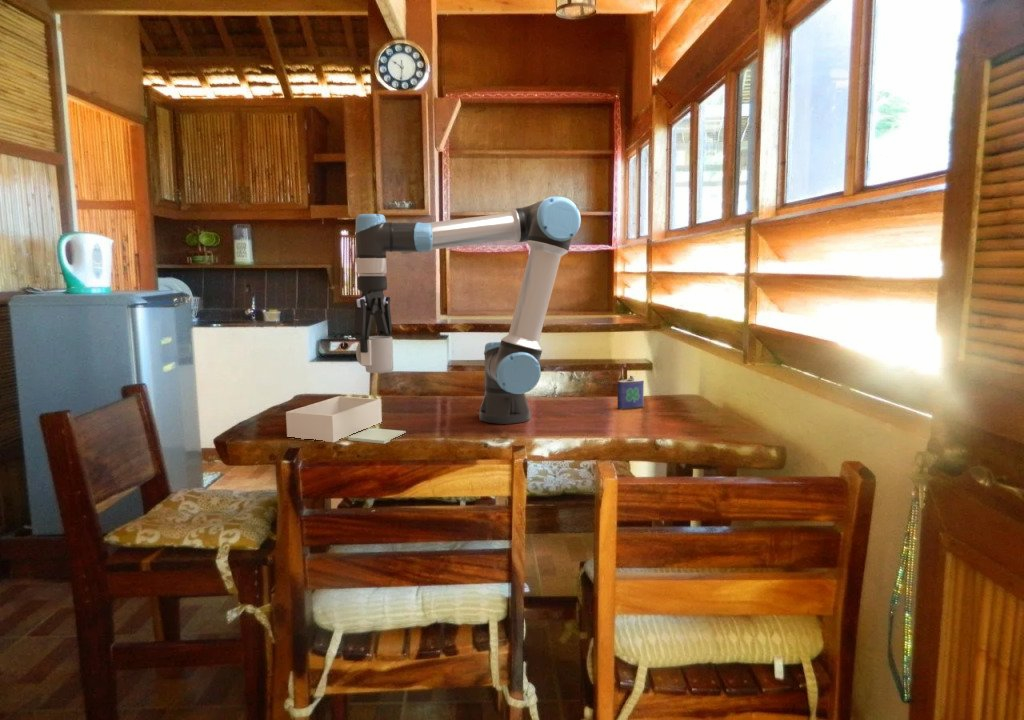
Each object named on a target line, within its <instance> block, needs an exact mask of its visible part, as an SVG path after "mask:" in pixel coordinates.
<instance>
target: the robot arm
mask: <svg viewBox="0 0 1024 720" xmlns="http://www.w3.org/2000/svg"><path fill="white" fill-rule="evenodd" d="M581 223H582V219H581V213H580V210H579V208H578V207H577V205H576V203H574V202H573V201H572V200H571V199H569V198H567V197H564V196H550V197H549V196H548V197H547V198H545V199H544V200H543V199H542V200H541V201H538V202H536V203H535V202H534V203H533V204H531V205H527V206H524V207H519V208H512V209H511V211H510V212H506V213H498V214H490V215H483V216H480V215H479V216H473V217H465V218H457V219H448V220H439V221H433V222H420V221H419V222H418V221H417V222H389V221H387V220H386V216H385V215H384V214H382V213H381V214H380V213H362V214H357V215H356V218H355V245H356V246H355V248H356V249H355V250H356V251H355V252H356V273H357V274H358V275H359V276H357V278H356V279H357V280H356V281H357V283H356V284H357V290H358V291H360V292H361V296H360V298H355V299H354V300H353V304H354V332H353V334H354V335H353V337H354V338H355V340H357V341H359V343H360V351H361V364H360V365H361V366H362V365H372V356H371V340H368V339H369V337H370V333H371V328H372V323H373V322H372V321H373V317H374V320H375V321H374V322H375V325H376V328H377V333H378V336H391V337H392V333H393V325H392V315H391V297H390V296H385V295H384V291H387V289H388V279H387V278H388V277H387V276H386V274H387V272H388V269H387V267H388V266H387V253H388V252H390V253H393V252H396V253H401V254H406V255H407V254H411V253H419V254H420V253H426V252H427V253H430V251H433V250H440V249H441V250H442V249H447V248H455V247H457V248H458V247H465V246H471V245H473V246H474V245H479V244H487V243H495V242H504V241H512V240H513V241H514V242H516V243H525V242H526V243H527V245H528V247H529V254H528V257H527V261H526V266H525V270H524V272H523V277H522V281H521V284H520V289H519V292H518V293H519V294H518V296H517V300H516V304H515V308H514V310H513V311H514V313H513V316H512V320H511V324H510V327H509V332H508V334H506V335H505V336H504V337H502V338H501V340H500V341H494V342H487V343H486V344H485V346H484V351H483V355H484V395H483V398H482V402H481V406H480V409H479V415H478V416H479V417H478V418H479V420H480V421H482V422H485V423H488V424H498V425H499V424H502V425H503V424H504V425H505V424H506V425H509V424H518V423H519V424H520V423H524V422H527V421H529V420H530V419H531V409H530V406H529V403H528V400H527V398H526V393H528V392H530V391H532V390H533V389H534V388H535V387H536V386H537V384H538V383H539V381H540V379H541V374H542V373H541V371H542V370H541V365H540V360H541V357H542V356H541V355H542V353H543V348H542V346H541V344H540V339H541V335H542V331H543V328H544V324H545V320H546V316H547V312H548V308H549V304H550V301H551V297H552V293H553V290H554V285H555V281H556V277H557V274H558V271H559V266H560V261H561V258H562V257H563V256H564V255H566V254H568V253H569V251H570V246H571V243H572V238H574V237H575V236H576V234H577V233H578V232H579V229H580V227H581Z"/></svg>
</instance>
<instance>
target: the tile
mask: <svg viewBox="0 0 1024 720" xmlns="http://www.w3.org/2000/svg"><path fill="white" fill-rule="evenodd" d="M404 433H406V434H407V432H406V430H397V429H388V428H387V429H385V428H377V427H376V428H375V427H371V428H368V429H366V430H363V431H361V432H358V433H356V434H353V435H351V436H348V437H347V441H353V442H361V443H362V442H364V443H374V444H383V445H385V444H387V443H389V442H391V441H390V440H391V439H393V438H395V437H398V436H400V435H402V434H404ZM400 437H401V436H400ZM398 438H399V437H398Z"/></svg>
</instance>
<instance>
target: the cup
mask: <svg viewBox="0 0 1024 720" xmlns="http://www.w3.org/2000/svg"><path fill="white" fill-rule="evenodd" d="M368 340H371V356H372V365H361V351H360V342H359V343H358V344H357V345H356V350H355V355H356V360H357V362H358V364H360V365H361V366H363V367H364V368H365V371H366V373H369V374H385V373H391V372H393V370H394V349H393V348H394V343H393V336H392V335H391V336H379V335H374V336H373V335H372V336H370V335H369V339H368Z"/></svg>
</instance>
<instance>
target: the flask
mask: <svg viewBox="0 0 1024 720" xmlns="http://www.w3.org/2000/svg"><path fill="white" fill-rule="evenodd" d="M635 377H636V376H634V375H633V374H631V375H629V377H628V378H626V379H621V380H618V381H617V410H618V411H619V410H620V411H625V410H634V409H635V410H636V409H637V410H638V409H642V408H644V394H645V393H644V392H645V390H644V380H643V379H635Z"/></svg>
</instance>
